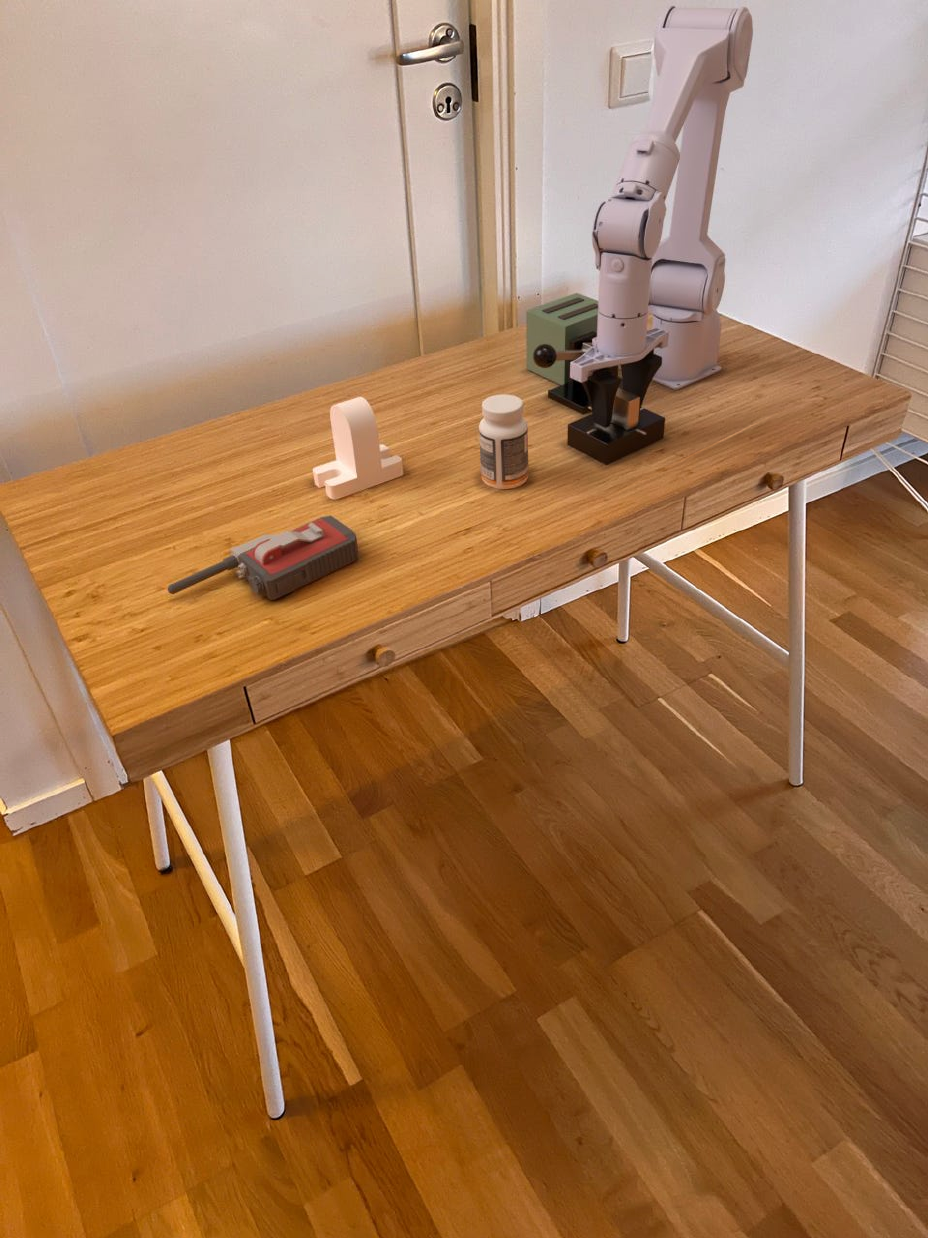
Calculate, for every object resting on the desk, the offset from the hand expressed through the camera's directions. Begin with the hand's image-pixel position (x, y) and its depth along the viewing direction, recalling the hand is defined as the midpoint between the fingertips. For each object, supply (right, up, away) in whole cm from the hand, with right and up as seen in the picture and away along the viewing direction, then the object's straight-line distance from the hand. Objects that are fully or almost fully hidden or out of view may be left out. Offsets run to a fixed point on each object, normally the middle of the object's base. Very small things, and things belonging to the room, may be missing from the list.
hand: (616, 417), depth 118 cm
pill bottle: (-14, -8, -3) cm, 17 cm away
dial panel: (0, -3, +2) cm, 3 cm away
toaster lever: (-5, +8, +7) cm, 12 cm away
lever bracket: (-1, +6, +13) cm, 14 cm away
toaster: (-4, +11, +19) cm, 22 cm away
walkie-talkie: (-39, -20, -17) cm, 47 cm away
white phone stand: (-32, -8, -2) cm, 33 cm away
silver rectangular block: (0, 0, 0) cm, 0 cm away
